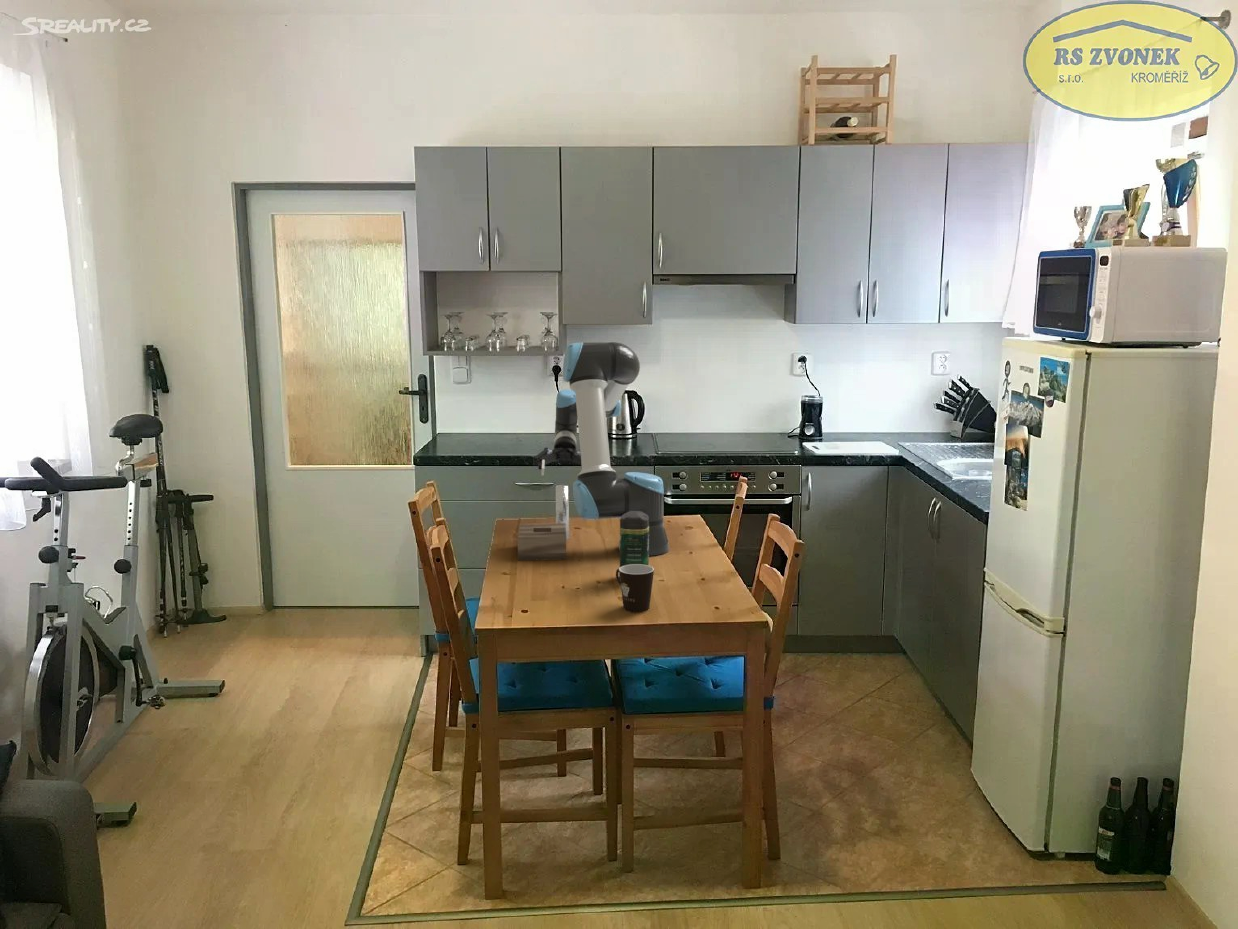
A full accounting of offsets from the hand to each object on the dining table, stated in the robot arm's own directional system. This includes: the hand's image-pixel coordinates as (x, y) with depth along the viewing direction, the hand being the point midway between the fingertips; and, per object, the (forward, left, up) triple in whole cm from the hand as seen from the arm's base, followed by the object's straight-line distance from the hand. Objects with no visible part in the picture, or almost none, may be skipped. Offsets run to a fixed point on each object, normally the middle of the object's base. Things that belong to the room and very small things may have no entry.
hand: (564, 473), depth 307 cm
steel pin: (-4, +4, -20) cm, 21 cm away
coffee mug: (-70, +27, -20) cm, 78 cm away
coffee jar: (-52, +13, -20) cm, 57 cm away
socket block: (-14, +18, -20) cm, 30 cm away
